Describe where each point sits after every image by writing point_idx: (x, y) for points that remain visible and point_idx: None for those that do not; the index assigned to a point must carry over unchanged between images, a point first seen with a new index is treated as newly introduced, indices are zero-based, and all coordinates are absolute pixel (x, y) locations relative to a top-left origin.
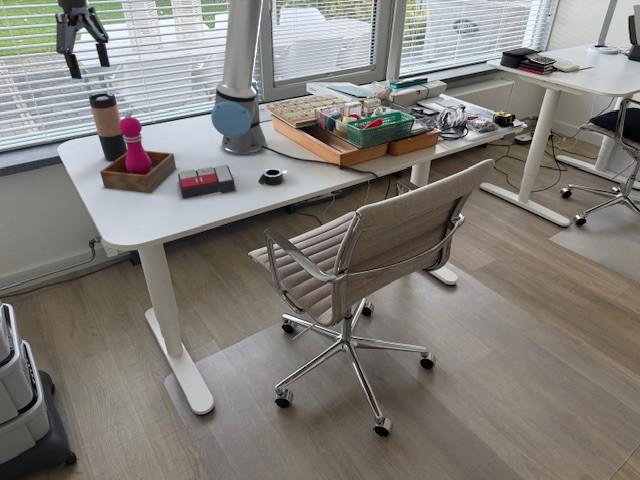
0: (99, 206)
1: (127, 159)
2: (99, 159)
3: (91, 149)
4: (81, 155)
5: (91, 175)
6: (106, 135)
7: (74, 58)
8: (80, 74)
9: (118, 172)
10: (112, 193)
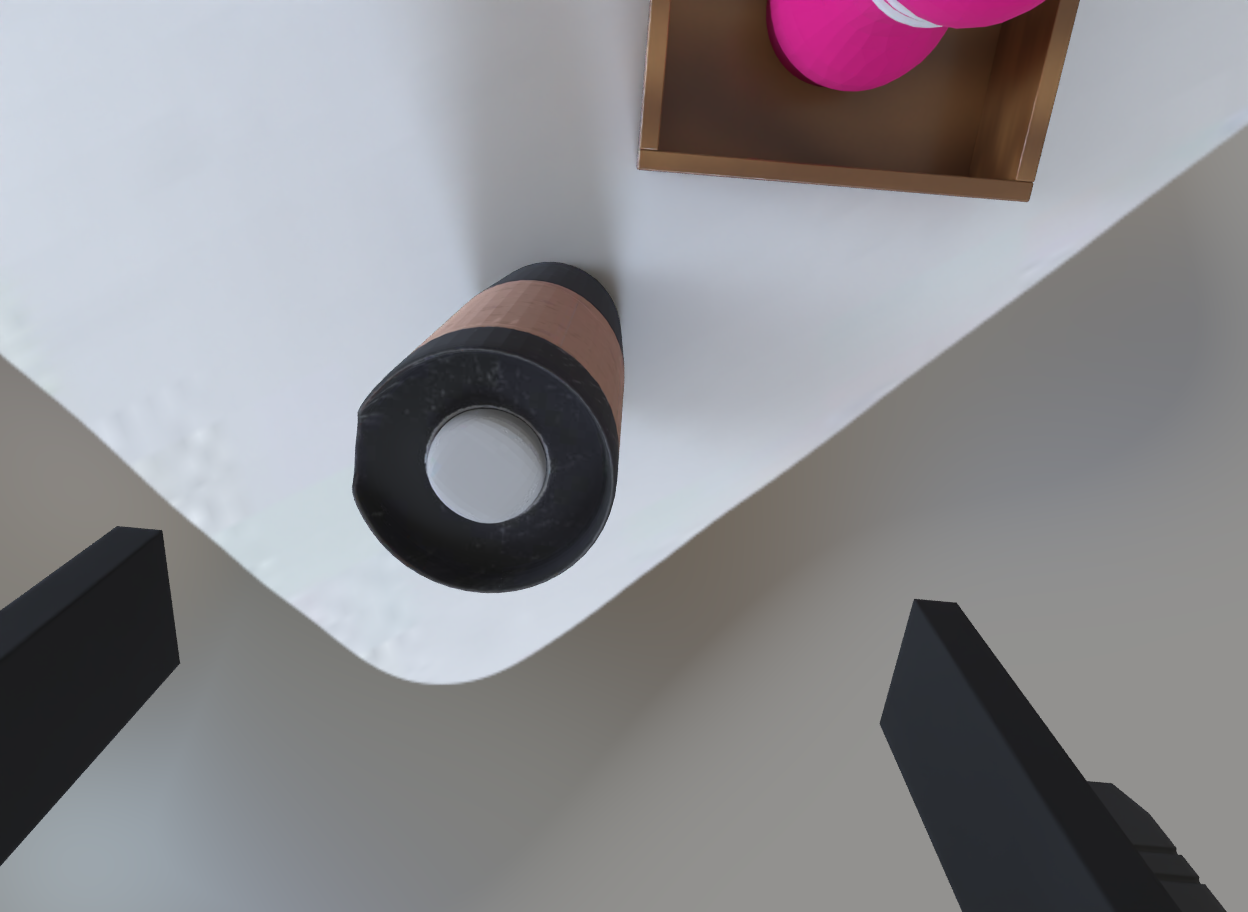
0: (1207, 109)
1: (942, 30)
2: None
3: None
4: None
5: (813, 358)
6: (622, 361)
7: (1153, 884)
8: (947, 638)
9: (1048, 57)
10: None
